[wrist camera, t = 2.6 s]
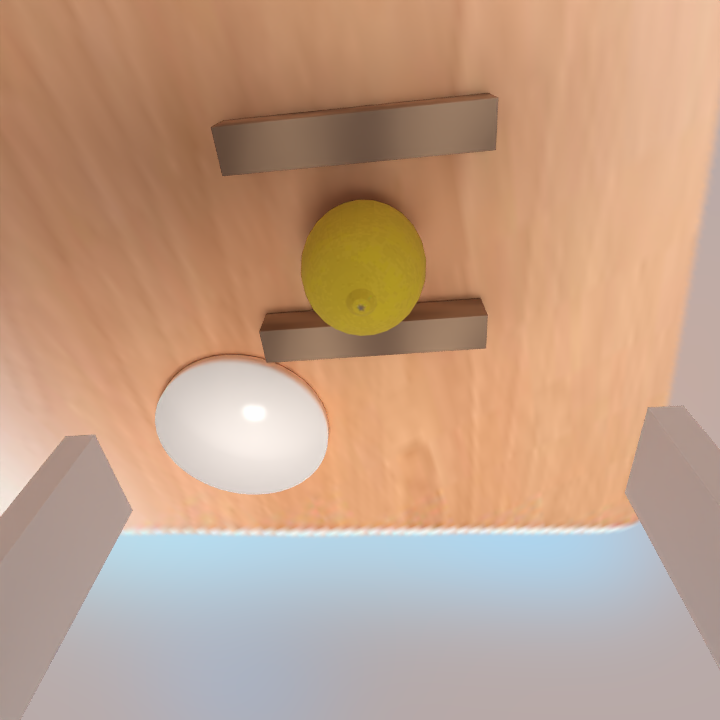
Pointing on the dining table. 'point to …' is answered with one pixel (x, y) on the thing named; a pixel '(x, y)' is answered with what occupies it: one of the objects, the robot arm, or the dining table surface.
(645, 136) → the dining table surface
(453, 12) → the dining table surface
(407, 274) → the lemon
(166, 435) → the saucer
